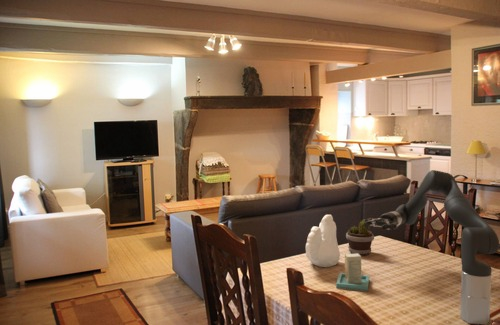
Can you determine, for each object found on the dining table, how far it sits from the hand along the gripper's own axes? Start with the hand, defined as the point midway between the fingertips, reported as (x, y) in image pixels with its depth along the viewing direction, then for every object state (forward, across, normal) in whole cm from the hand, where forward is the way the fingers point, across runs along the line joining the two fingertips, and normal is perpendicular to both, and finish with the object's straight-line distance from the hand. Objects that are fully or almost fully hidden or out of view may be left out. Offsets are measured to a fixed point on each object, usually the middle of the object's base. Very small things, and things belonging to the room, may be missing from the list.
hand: (373, 226), depth 188 cm
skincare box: (+11, -3, +24) cm, 26 cm away
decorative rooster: (+3, -28, +24) cm, 37 cm away
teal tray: (+11, -3, +24) cm, 27 cm away
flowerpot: (-29, -24, +24) cm, 44 cm away
